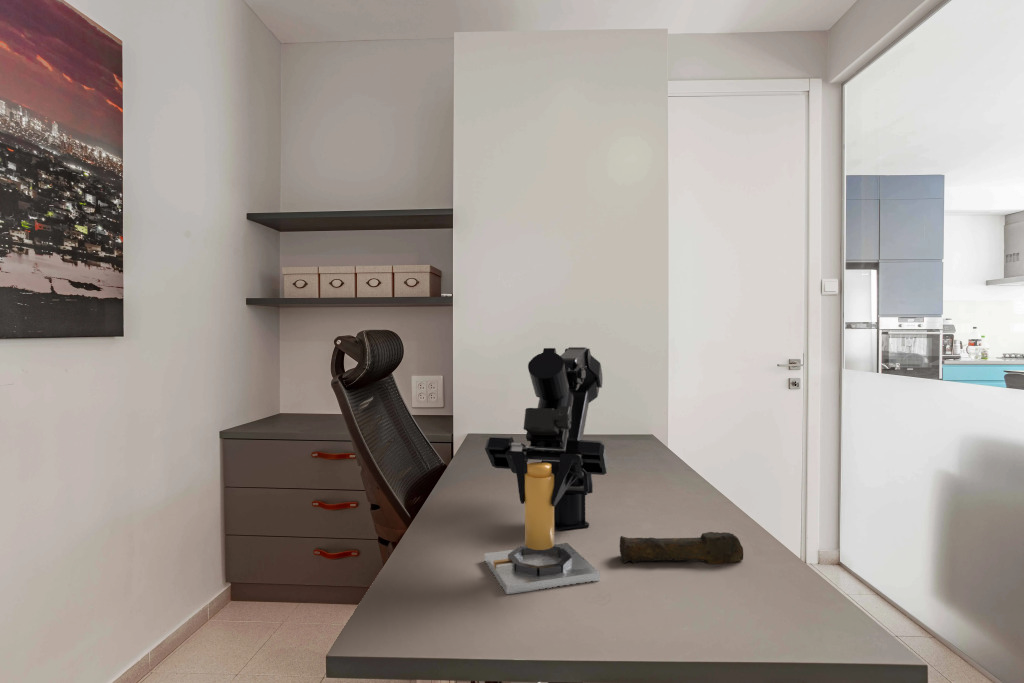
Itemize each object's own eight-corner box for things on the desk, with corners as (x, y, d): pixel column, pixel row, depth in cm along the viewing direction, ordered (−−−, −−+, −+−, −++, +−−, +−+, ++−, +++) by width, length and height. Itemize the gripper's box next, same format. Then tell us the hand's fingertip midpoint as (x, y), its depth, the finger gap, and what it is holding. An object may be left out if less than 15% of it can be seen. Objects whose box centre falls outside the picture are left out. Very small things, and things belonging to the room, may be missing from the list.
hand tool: (621, 567, 87) (621, 537, 87) (618, 556, 91) (618, 528, 91) (748, 570, 86) (748, 540, 86) (740, 560, 90) (740, 530, 90)
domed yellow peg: (553, 538, 88) (552, 461, 87) (555, 549, 83) (555, 468, 83) (524, 539, 88) (524, 461, 87) (525, 550, 83) (525, 468, 83)
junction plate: (567, 550, 93) (567, 536, 93) (599, 580, 82) (599, 565, 82) (484, 561, 89) (484, 547, 89) (506, 594, 78) (506, 578, 78)
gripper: (488, 386, 91) (463, 470, 81) (604, 388, 86) (594, 479, 76) (503, 426, 99) (482, 508, 89) (611, 431, 94) (602, 519, 83)
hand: (537, 503), depth 84 cm, fingers closed on domed yellow peg, 4 cm apart
